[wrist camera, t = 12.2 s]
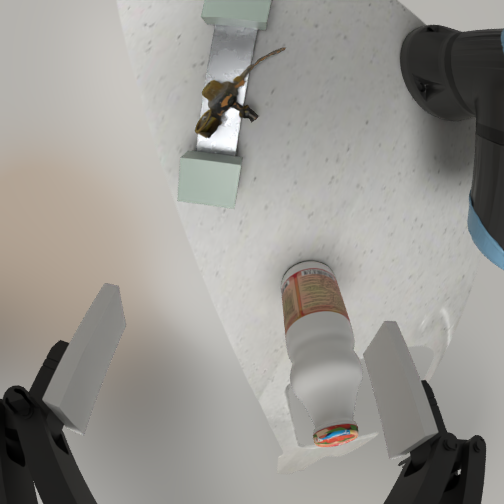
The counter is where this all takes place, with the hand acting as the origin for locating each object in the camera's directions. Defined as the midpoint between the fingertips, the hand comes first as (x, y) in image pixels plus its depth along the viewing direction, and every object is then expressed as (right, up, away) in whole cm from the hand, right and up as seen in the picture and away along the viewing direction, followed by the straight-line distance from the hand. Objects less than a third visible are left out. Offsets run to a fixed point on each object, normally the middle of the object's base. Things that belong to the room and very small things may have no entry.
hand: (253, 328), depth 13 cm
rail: (-3, +24, +19) cm, 31 cm away
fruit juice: (+9, -1, +35) cm, 36 cm away
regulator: (-2, +23, +17) cm, 29 cm away
